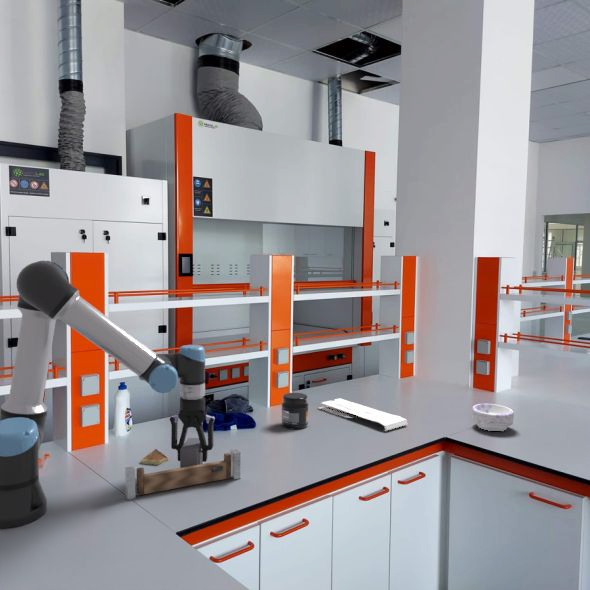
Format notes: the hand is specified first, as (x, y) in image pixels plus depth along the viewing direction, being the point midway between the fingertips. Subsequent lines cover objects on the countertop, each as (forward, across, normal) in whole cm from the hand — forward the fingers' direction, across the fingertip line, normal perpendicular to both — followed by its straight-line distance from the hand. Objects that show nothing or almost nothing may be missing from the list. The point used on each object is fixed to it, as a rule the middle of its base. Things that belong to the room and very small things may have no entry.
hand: (192, 471), depth 169 cm
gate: (0, 0, -11) cm, 11 cm away
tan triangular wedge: (+1, -15, +10) cm, 18 cm away
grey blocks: (0, 0, -11) cm, 11 cm away
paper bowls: (+1, +106, +51) cm, 118 cm away
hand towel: (+1, +56, +62) cm, 83 cm away
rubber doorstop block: (0, 0, 0) cm, 0 cm away
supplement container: (+1, +29, +48) cm, 56 cm away
